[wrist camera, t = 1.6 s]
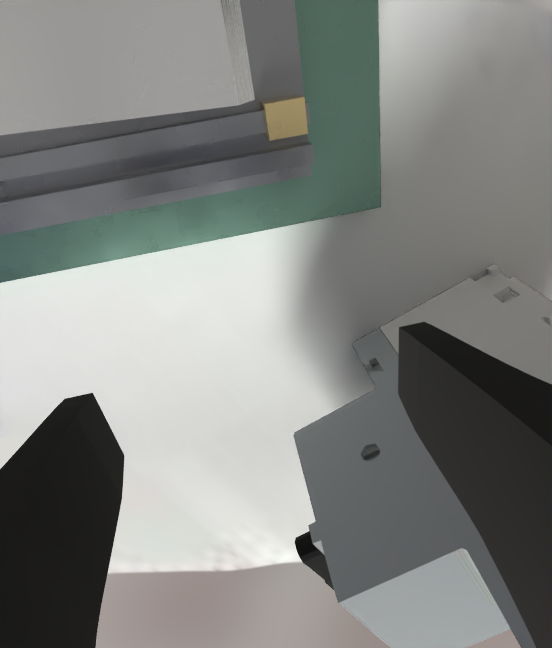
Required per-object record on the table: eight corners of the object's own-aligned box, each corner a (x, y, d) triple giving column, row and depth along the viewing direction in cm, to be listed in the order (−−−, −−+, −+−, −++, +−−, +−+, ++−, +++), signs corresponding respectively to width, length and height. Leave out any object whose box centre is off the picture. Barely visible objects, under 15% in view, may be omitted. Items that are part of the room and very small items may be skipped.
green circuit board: (-48, 283, 17) (-106, 335, 14) (-335, -177, 11) (-586, -293, 7) (372, 200, 18) (411, 230, 15) (361, -269, 12) (428, -408, 8)
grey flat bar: (-59, 147, 12) (-90, 155, 12) (-120, 33, 11) (-161, 34, 10) (258, 110, 8) (238, 118, 8) (229, -83, 7) (200, -93, 6)
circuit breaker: (253, 397, 23) (321, 791, 11) (494, 263, 21) (933, 553, 9) (314, 468, 27) (416, 820, 14) (522, 361, 25) (854, 660, 12)
